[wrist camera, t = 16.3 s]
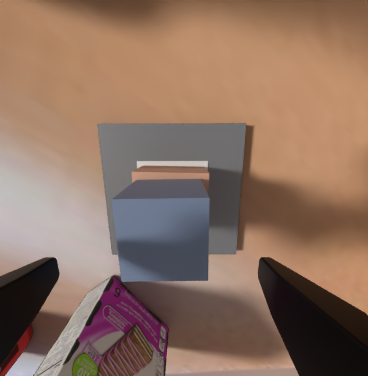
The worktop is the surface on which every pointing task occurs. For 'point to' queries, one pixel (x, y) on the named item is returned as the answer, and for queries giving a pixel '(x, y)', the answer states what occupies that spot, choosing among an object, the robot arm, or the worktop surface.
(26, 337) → the canned food
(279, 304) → the robot arm
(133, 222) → the blue cube
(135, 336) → the candy bar box
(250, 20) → the worktop surface
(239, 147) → the board
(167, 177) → the terracotta block
